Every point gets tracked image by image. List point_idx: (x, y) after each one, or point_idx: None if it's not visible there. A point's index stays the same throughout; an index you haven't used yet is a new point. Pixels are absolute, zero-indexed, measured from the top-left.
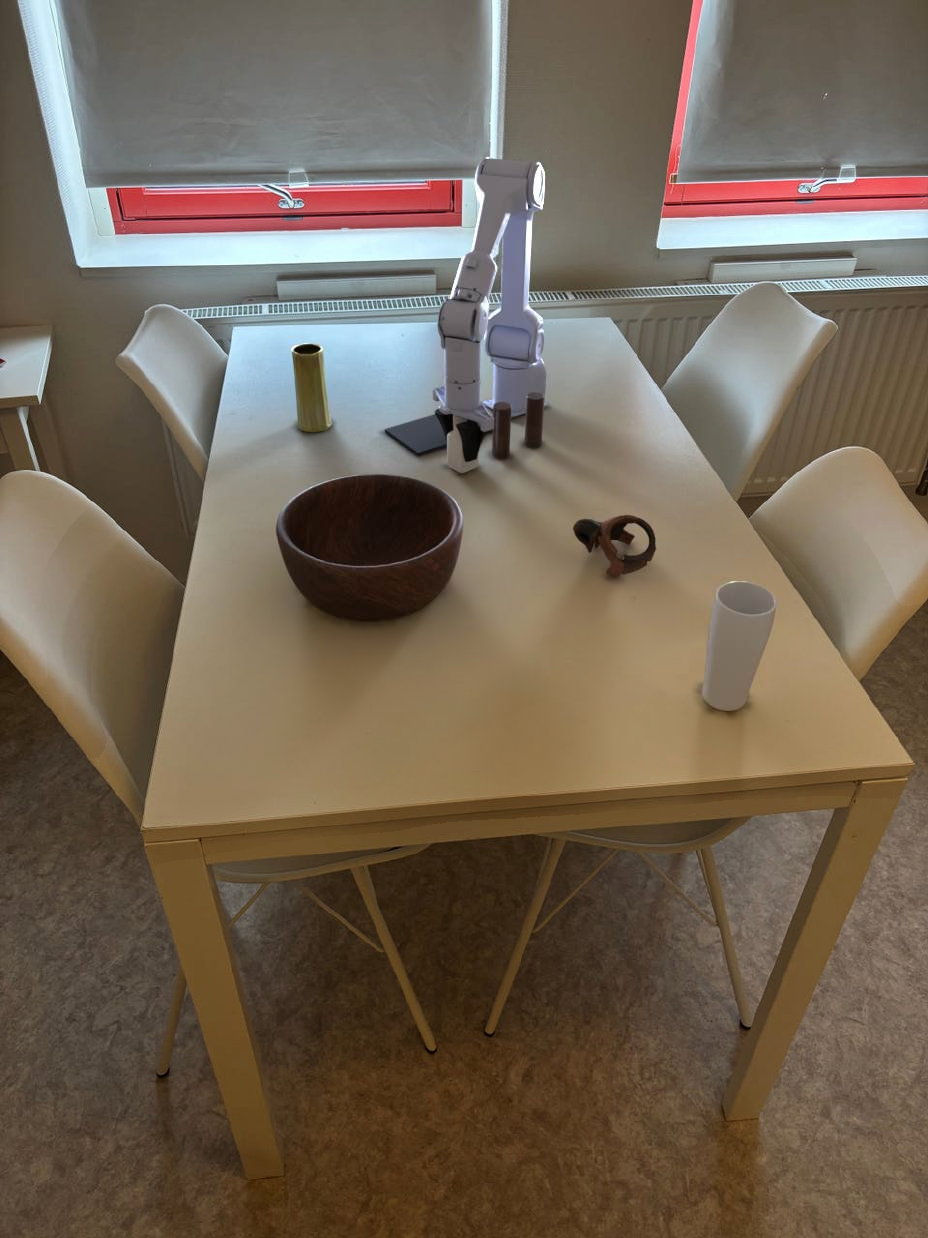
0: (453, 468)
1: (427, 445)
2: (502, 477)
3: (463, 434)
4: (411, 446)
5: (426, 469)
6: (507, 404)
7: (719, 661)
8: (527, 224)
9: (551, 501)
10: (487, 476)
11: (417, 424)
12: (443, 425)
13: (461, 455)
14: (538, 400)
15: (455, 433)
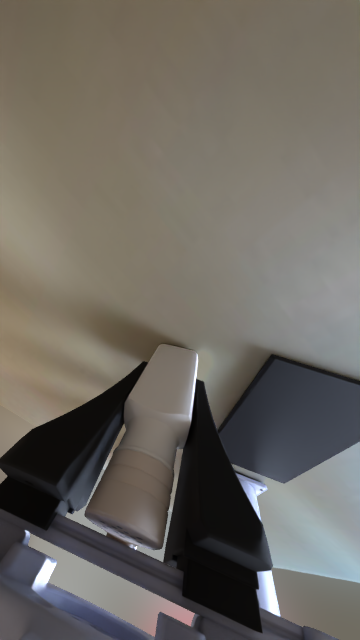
0: (179, 347)
1: (273, 387)
2: (118, 364)
3: (62, 425)
4: (306, 372)
5: (224, 323)
6: (120, 538)
7: None
8: None
9: (43, 348)
10: (132, 357)
11: (339, 434)
12: (208, 452)
13: (145, 368)
14: (106, 535)
15: (153, 425)
